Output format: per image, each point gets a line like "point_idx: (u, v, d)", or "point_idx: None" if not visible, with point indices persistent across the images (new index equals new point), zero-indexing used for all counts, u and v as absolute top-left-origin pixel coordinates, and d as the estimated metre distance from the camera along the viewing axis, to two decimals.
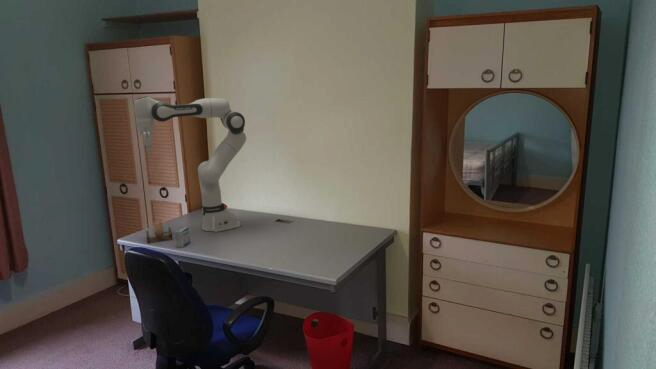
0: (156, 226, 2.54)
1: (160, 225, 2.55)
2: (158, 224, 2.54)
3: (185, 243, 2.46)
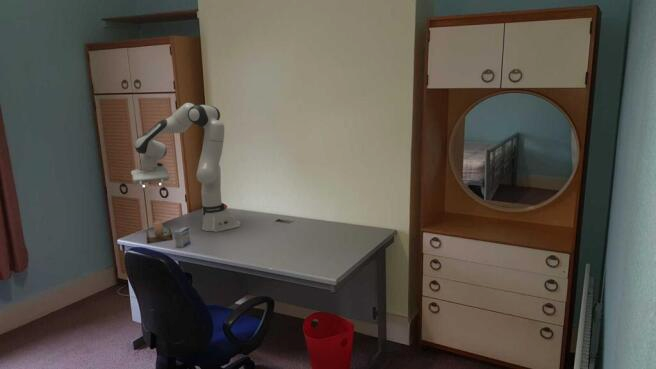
0: (156, 226, 2.54)
1: (160, 225, 2.55)
2: (158, 224, 2.54)
3: (185, 243, 2.46)
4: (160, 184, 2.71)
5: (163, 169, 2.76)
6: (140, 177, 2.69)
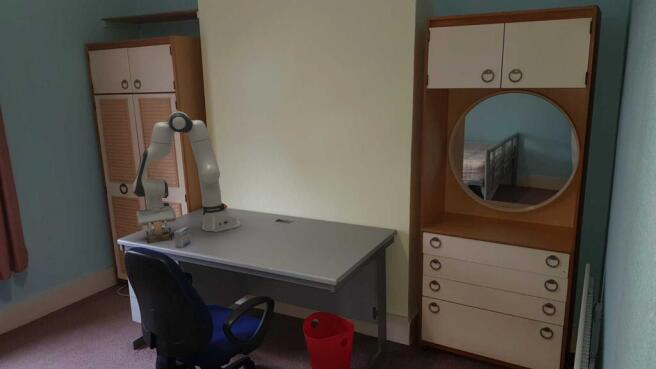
0: (156, 226, 2.54)
1: (160, 225, 2.55)
2: (158, 224, 2.54)
3: (185, 243, 2.46)
4: (163, 226, 2.57)
5: (170, 209, 2.62)
6: (146, 219, 2.56)
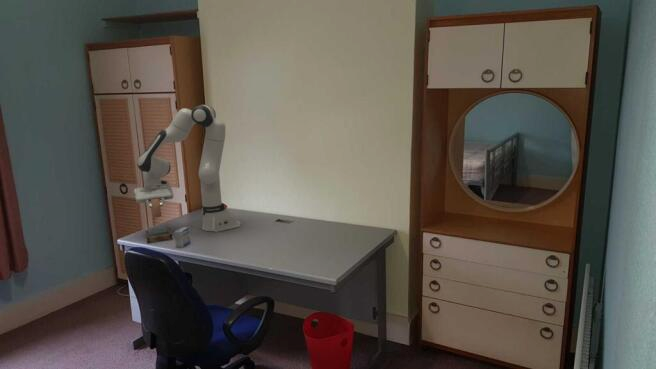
0: (153, 203, 2.57)
1: (157, 202, 2.58)
2: (155, 201, 2.57)
3: (185, 243, 2.46)
4: (161, 203, 2.60)
5: (167, 187, 2.65)
6: (143, 196, 2.59)
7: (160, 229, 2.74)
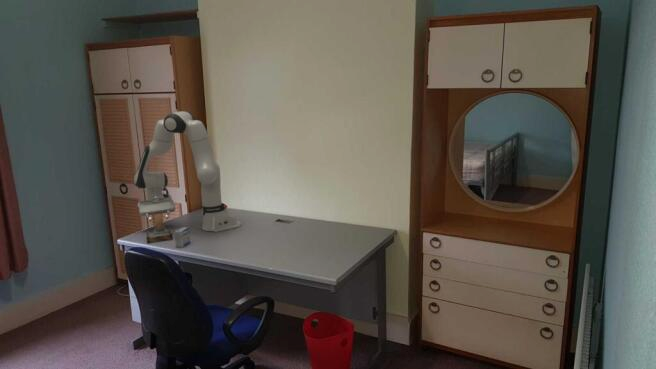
0: (157, 218, 2.68)
1: (160, 217, 2.69)
2: (158, 216, 2.68)
3: (185, 243, 2.46)
4: (166, 216, 2.72)
5: (169, 200, 2.76)
6: (147, 209, 2.70)
7: None
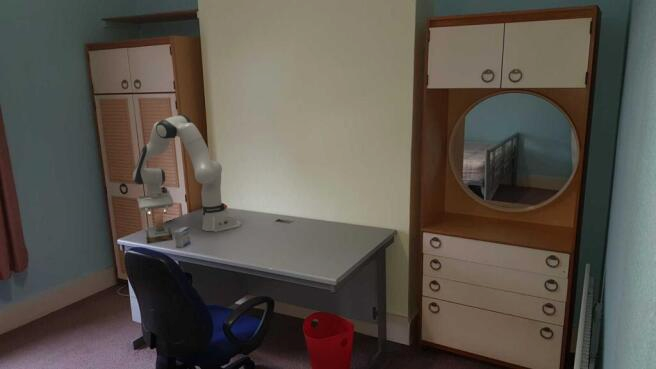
0: (157, 218, 2.68)
1: (160, 217, 2.69)
2: (158, 216, 2.68)
3: (185, 243, 2.46)
4: (165, 210, 2.83)
5: (168, 196, 2.88)
6: (146, 204, 2.82)
7: None
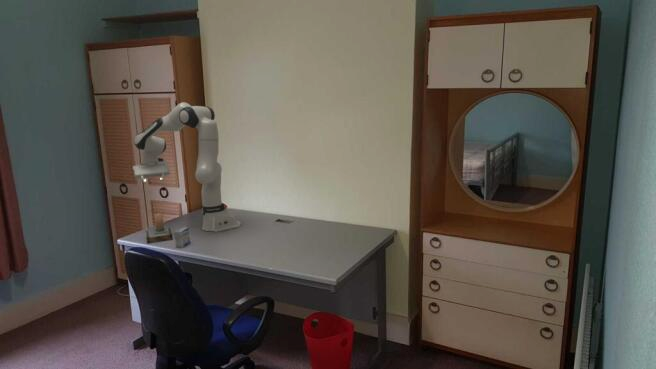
0: (157, 218, 2.69)
1: (160, 217, 2.69)
2: (159, 216, 2.69)
3: (185, 243, 2.46)
4: (161, 178, 2.79)
5: (164, 164, 2.84)
6: (142, 172, 2.77)
7: None
